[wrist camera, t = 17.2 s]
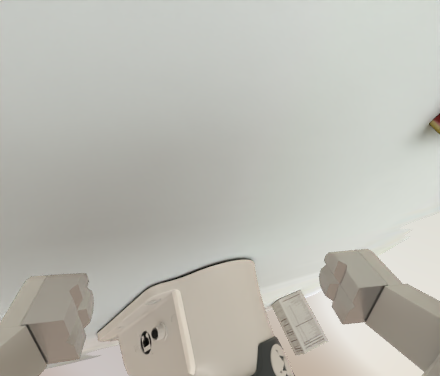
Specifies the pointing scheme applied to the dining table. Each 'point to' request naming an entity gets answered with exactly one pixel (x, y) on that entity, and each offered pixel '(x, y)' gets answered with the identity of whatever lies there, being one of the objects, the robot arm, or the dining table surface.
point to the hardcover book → (436, 123)
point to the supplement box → (299, 323)
